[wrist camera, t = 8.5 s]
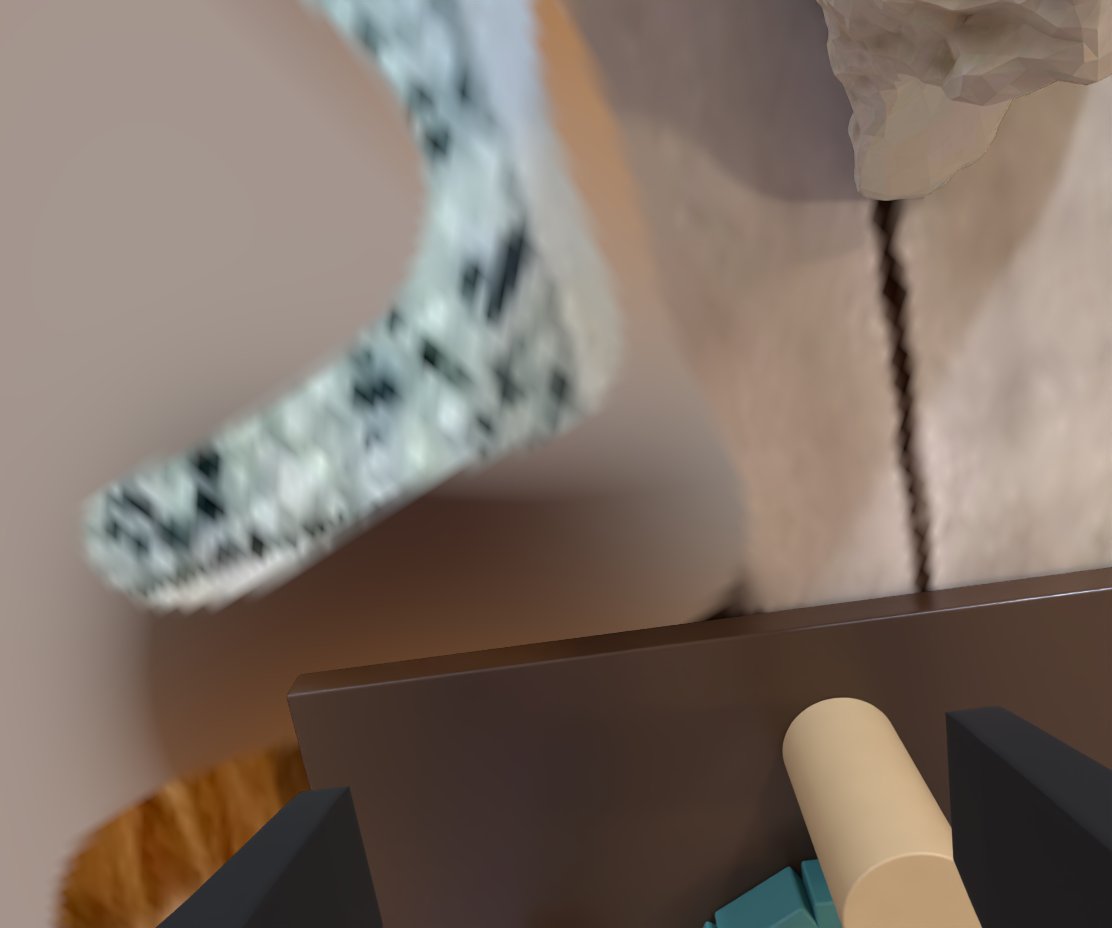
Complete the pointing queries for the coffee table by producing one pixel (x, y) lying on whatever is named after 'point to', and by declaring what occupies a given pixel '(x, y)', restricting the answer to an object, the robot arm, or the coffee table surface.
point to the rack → (670, 746)
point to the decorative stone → (950, 77)
